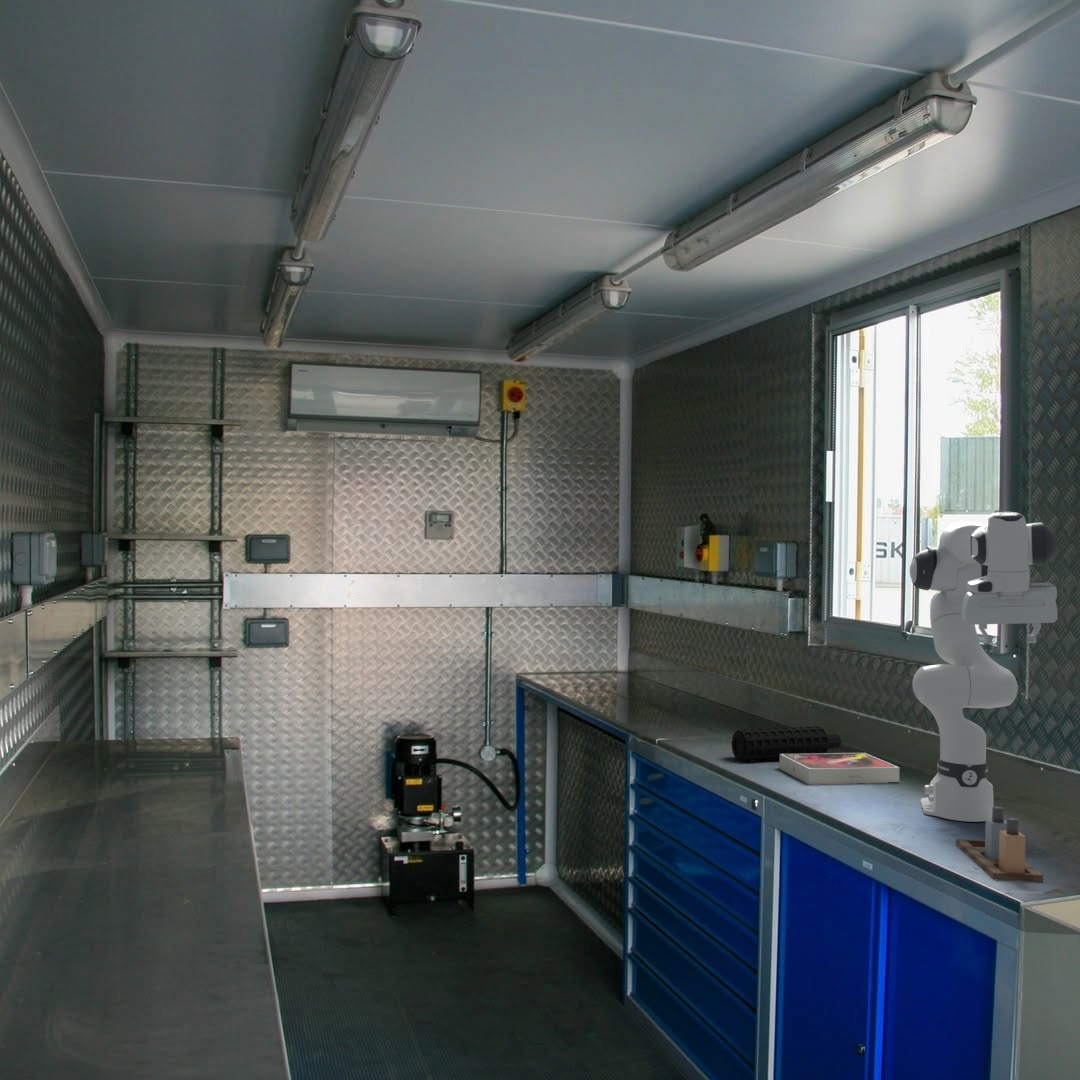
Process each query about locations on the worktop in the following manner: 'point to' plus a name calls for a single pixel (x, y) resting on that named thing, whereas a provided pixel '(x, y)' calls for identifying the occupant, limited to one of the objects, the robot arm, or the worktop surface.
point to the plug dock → (995, 863)
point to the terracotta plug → (1012, 848)
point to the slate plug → (994, 833)
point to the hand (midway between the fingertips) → (1010, 643)
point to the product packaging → (838, 768)
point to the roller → (781, 742)
